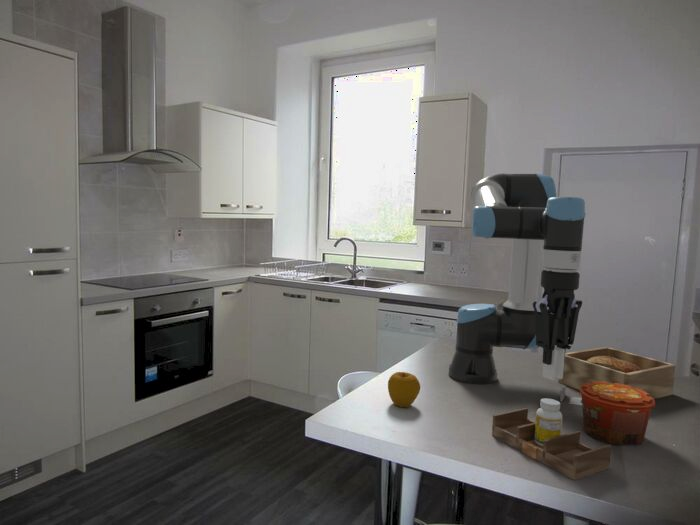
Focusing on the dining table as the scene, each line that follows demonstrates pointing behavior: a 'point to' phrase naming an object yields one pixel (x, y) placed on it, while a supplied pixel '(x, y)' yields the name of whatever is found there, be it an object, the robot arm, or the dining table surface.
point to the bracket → (573, 400)
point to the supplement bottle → (547, 421)
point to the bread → (614, 364)
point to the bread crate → (650, 379)
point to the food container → (615, 412)
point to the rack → (551, 446)
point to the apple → (403, 388)
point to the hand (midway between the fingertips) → (552, 377)
